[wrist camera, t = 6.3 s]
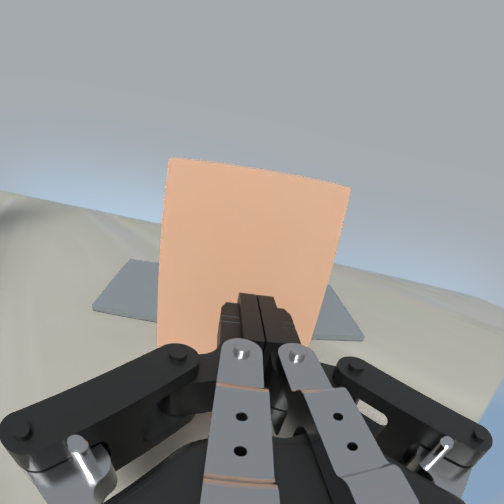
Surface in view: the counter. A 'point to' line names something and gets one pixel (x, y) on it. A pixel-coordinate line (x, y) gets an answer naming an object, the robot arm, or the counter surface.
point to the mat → (146, 301)
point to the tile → (243, 246)
